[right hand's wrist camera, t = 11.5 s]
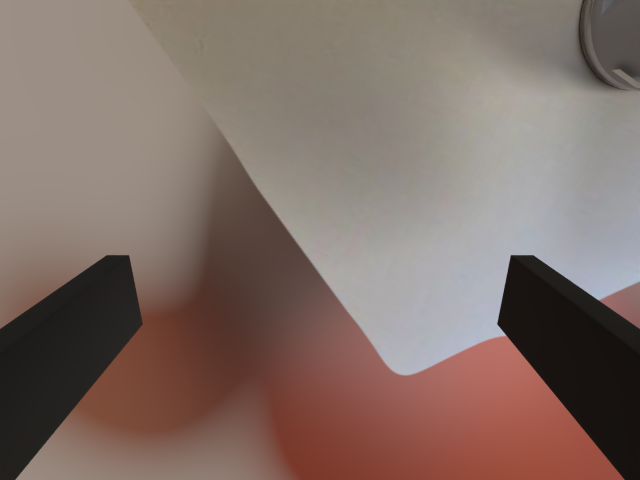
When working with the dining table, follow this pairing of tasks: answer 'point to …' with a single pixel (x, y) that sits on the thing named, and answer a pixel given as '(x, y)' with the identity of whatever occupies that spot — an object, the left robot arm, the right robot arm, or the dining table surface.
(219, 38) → the dining table surface
